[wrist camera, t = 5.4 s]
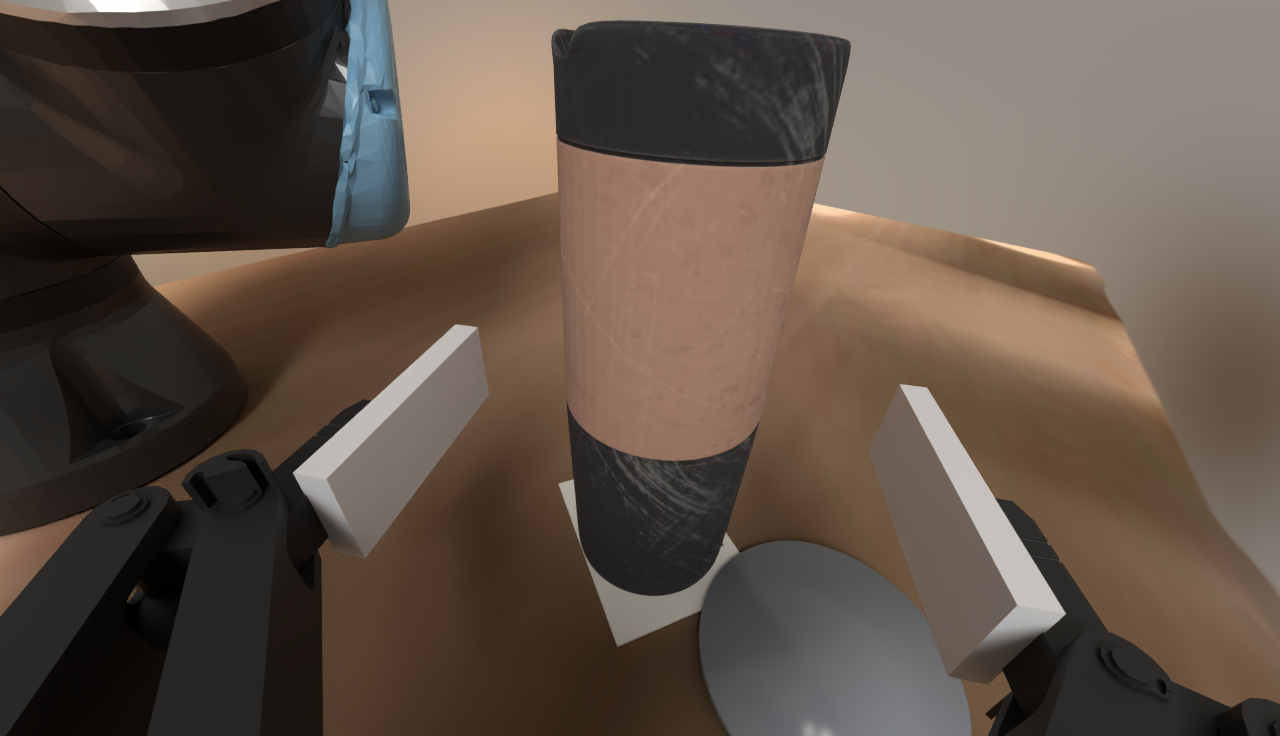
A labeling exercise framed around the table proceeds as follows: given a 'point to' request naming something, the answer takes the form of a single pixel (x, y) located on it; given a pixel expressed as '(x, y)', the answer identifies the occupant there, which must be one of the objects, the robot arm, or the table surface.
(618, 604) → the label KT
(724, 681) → the slate coaster
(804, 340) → the table surface
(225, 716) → the robot arm
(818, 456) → the table surface
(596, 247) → the travel mug
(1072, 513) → the table surface
